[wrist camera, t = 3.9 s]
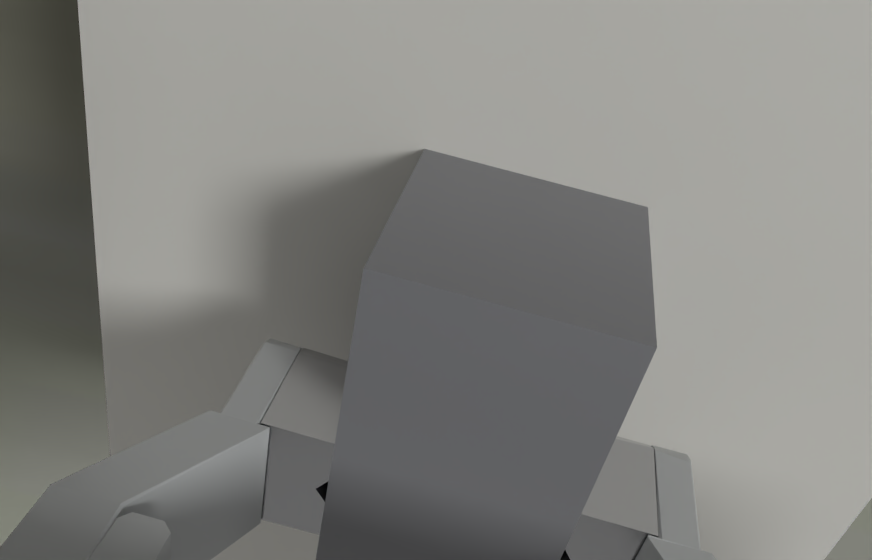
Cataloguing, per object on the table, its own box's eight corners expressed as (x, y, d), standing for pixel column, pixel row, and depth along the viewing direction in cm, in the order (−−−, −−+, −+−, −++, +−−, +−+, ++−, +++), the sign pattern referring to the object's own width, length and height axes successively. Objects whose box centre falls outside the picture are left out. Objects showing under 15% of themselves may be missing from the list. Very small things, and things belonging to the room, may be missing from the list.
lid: (163, -368, 10) (-212, -480, 5) (1183, -135, 9) (1711, -43, 5) (170, 492, 19) (35, 710, 15) (674, 640, 19) (692, 914, 14)
